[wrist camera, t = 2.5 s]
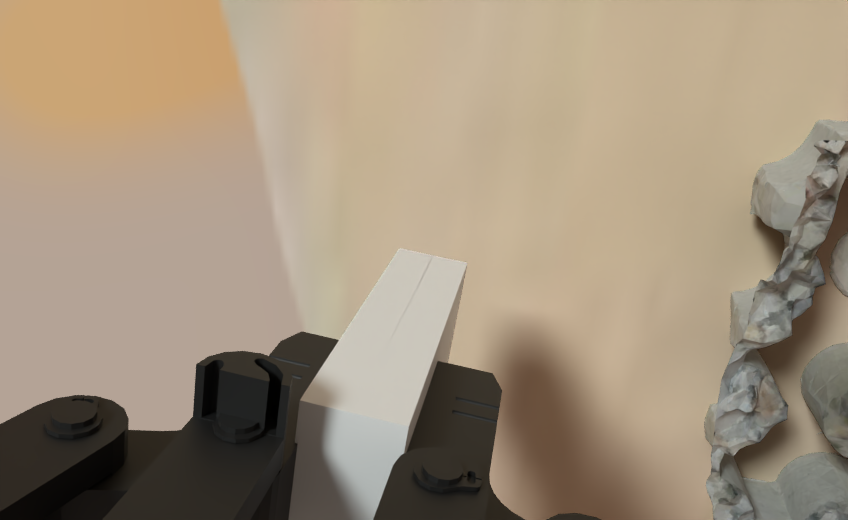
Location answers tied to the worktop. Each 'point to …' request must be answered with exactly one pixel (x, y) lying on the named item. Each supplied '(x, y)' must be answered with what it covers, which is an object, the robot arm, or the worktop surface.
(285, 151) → the worktop surface
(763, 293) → the egg carton
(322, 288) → the worktop surface
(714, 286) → the worktop surface
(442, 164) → the worktop surface
